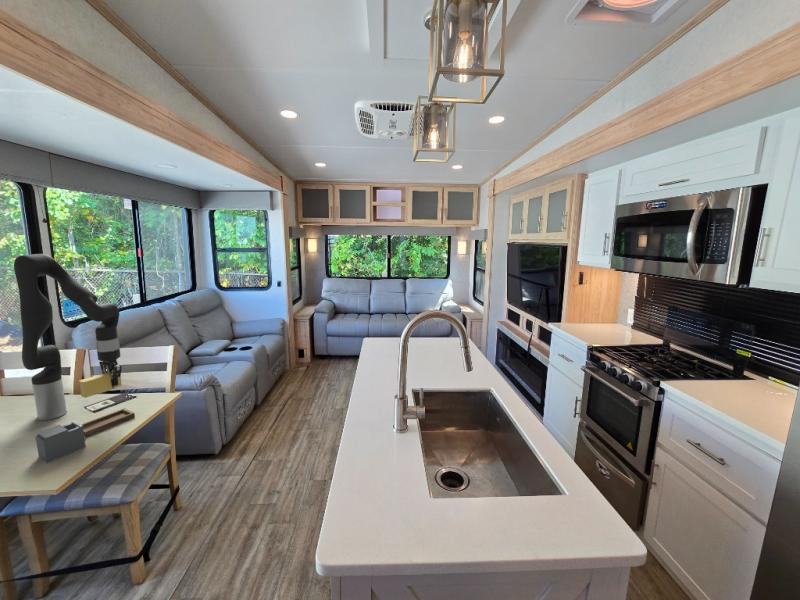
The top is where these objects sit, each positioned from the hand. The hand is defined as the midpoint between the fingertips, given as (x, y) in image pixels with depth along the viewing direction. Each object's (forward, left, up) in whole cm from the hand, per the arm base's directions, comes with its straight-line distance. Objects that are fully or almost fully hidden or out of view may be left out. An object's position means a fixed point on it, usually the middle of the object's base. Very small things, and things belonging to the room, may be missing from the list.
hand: (112, 384), depth 147 cm
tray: (0, -4, -18) cm, 18 cm away
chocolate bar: (-21, +7, -18) cm, 28 cm away
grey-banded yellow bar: (0, -4, -1) cm, 4 cm away
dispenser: (+8, -21, -18) cm, 29 cm away
